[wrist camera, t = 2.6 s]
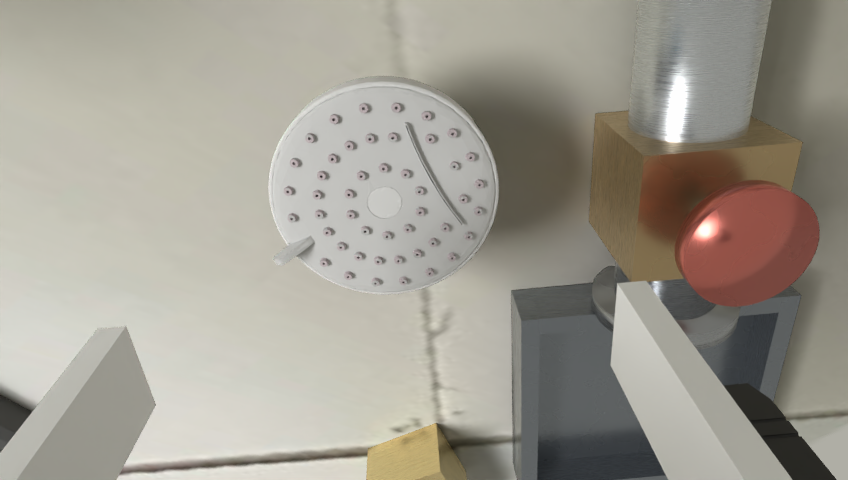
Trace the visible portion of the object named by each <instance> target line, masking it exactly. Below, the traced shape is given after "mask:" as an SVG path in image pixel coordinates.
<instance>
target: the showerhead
mask: <svg viewBox="0 0 848 480" xmlns="http://www.w3.org/2000/svg"><path fill="white" fill-rule="evenodd" d="M498 199H499V179H498V172H497V167H496V163H495V160H494V157H493V154H492V151H491V149H490V147H489V144H488V143H487V141H486V139H485V137H484V135H483V134H482V132H481V130H480V129H479V127H478V126H477V124H476V123H475V122H474V120H473V119H472V117H471V116H470V115H469V114H468V113H467V112H466V111H465V109H463V108H462V107H461V106H460V105H459V104H458V103H456V102H455V101H454V100H453V99H451V98H450V97H449V96H448V95H446V94H444V93H443V92H441V91H439V90H438V89H435V88H433V87H431V86H429V85H426V84H424V83H421V82H418V81H415V80H411V79H407V78H401V77H394V76H375V77H366V78H359V79H355V80H351V81H347V82H345V83H342V84H340V85H337V86H335V87H333V88H331V89H329V90H327V91H326V92H324V93H322V94H321V95H319V96H317V97H316V98H315V99H314V100H312V101H311V102H310V103H309V104H307V106H306V107H305V108H304V109H303V110H302V111H301V112H300V113H299V114H298V115H297V116H296V118H295V119H294V120H293V121H292V123H291V124H290V126H289V127H288V128H287V130H286V131H285V133H284V135H283V136H282V138H281V140H280V142H279V144H278V146H277V148H276V151H275V153H274V156H273V159H272V163H271V167H270V174H269V200H270V206H271V211H272V214H273V217H274V221H275V223H276V225H277V228H278V230H279V232H280V234H281V236H282V238H283V239H284V241H285V242H286V244H287V245H288V246H287V247H286V248H284V249H283V250H282V251H281V252H279V253H278V254H277V255H276V256H274V257H273V260H274V261H275V263H276V264H277V265H284V264H285V263H287V262H288V261H290V260H291V259H293V258H294V257H295V256H297V257H298V258H299V259H300V260H301V261H302V263H304V264H305V265H306V266H307V267H308V268H310V269H311V270H312V271H314V272H315V273H316V274H318V275H319V276H321V277H323V278H324V279H326V280H328V281H330V282H332V283H334V284H337V285H339V286H341V287H344V288H347V289H351V290H355V291H358V292H363V293H371V294H400V293H407V292H412V291H416V290H420V289H423V288H426V287H429V286H431V285H434V284H436V283H438V282H440V281H442V280H444V279H446V278H447V277H449V276H451V275H452V274H454V273H455V272H456V271H458V270H459V269H460V268H461V267H463V266H464V265H465V264H466V263H467V262H468V261H469V260H470V259H471V258H472V257H473V256H474V255H475V253H476V252H477V251H478V250H479V248H480V247H481V245H482V244H483V243H484V241H485V239H486V237H487V236H488V234H489V231H490V229H491V227H492V225H493V222H494V219H495V216H496V211H497V207H498Z"/></svg>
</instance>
